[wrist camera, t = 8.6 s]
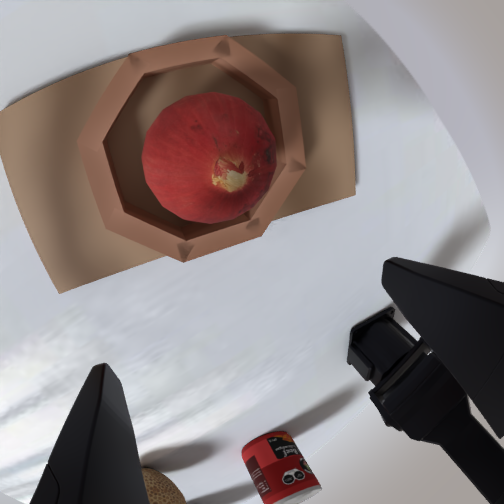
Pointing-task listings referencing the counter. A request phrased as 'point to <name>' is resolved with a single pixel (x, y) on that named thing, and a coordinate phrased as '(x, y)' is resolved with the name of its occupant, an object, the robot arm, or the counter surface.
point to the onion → (209, 157)
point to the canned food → (279, 469)
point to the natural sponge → (161, 488)
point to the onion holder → (133, 137)
